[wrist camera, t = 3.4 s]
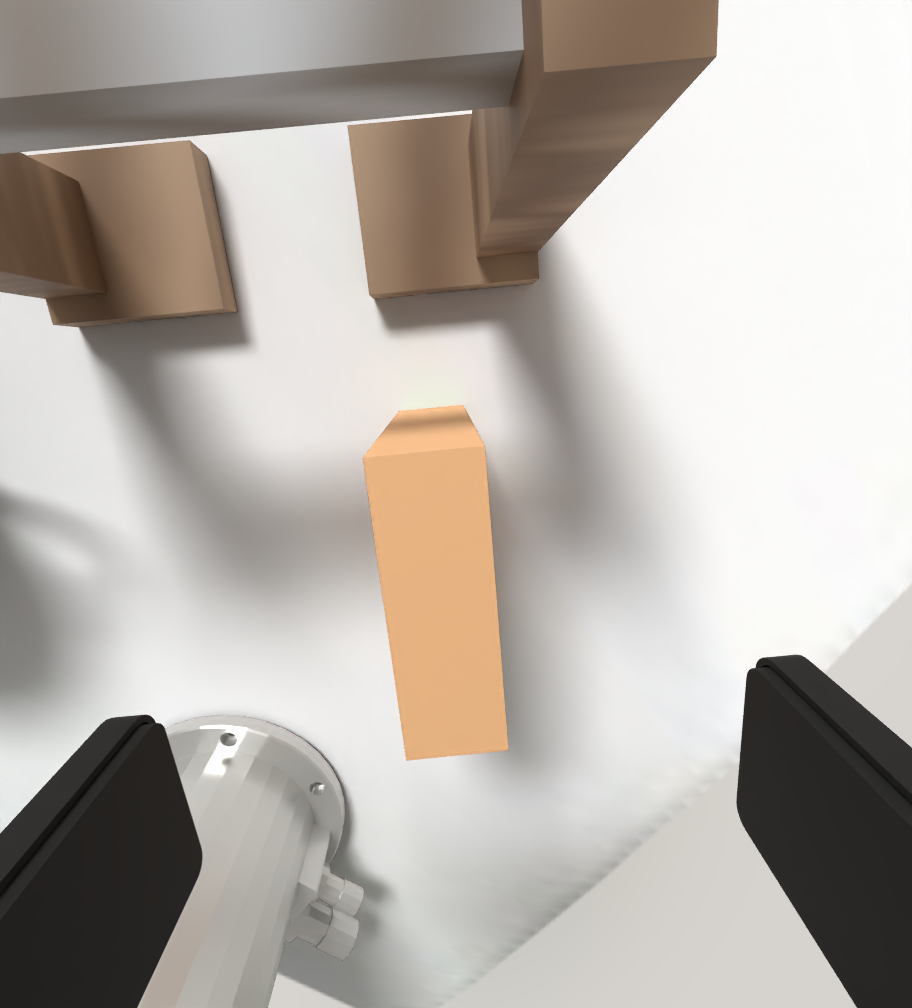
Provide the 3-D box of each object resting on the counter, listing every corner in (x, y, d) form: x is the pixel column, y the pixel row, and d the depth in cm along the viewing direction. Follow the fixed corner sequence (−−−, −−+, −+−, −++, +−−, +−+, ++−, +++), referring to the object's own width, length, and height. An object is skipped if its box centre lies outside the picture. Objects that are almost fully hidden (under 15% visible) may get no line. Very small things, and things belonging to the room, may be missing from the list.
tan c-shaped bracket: (463, 404, 24) (485, 445, 13) (478, 582, 26) (508, 750, 15) (399, 411, 24) (362, 457, 13) (420, 587, 26) (406, 760, 15)
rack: (524, 125, 21) (735, -451, 6) (532, 283, 23) (714, 136, 8) (34, 171, 21) (-977, -299, 6) (77, 327, 22) (-632, 262, 8)
